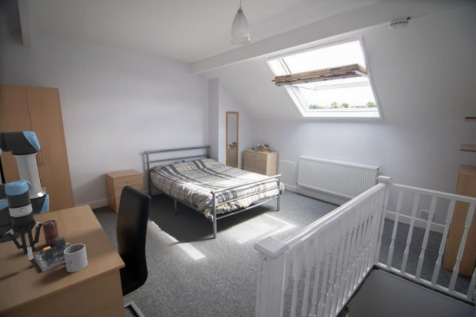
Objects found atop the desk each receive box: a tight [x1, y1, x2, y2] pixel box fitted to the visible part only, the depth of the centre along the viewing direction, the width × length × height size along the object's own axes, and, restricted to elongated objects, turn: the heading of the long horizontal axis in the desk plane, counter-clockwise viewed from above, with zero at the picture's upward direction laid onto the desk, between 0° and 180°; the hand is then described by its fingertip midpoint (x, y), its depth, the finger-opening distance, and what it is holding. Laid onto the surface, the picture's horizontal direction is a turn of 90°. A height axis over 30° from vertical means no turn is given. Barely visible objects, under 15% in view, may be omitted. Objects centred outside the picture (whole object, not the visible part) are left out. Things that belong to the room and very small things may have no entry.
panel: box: [33, 241, 73, 273], centre depth 117 cm, size 17×16×2 cm
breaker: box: [56, 236, 66, 249], centre depth 122 cm, size 3×3×5 cm
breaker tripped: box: [42, 246, 53, 259], centre depth 113 cm, size 3×3×5 cm
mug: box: [64, 243, 89, 273], centre depth 110 cm, size 12×9×10 cm
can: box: [42, 219, 60, 247], centre depth 127 cm, size 6×6×14 cm
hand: (30, 258), depth 108 cm, fingers closed
